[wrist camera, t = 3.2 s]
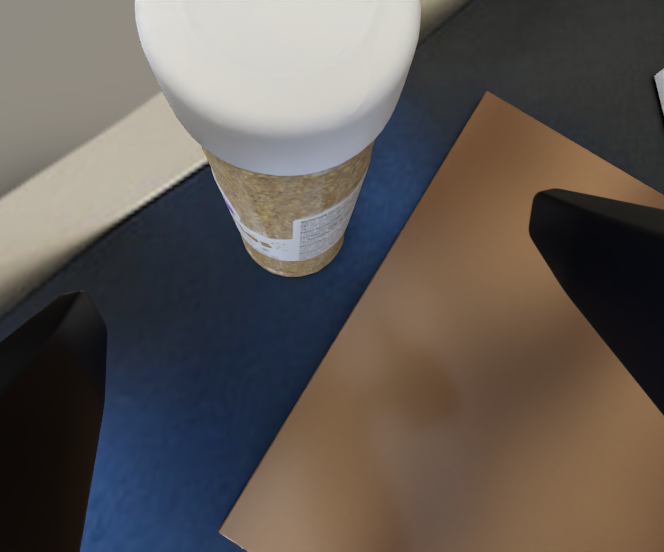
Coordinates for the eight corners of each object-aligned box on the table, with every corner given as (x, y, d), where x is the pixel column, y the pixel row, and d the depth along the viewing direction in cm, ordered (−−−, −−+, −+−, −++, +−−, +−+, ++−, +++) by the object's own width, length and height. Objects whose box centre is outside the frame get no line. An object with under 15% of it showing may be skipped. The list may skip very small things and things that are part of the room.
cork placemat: (781, 273, 21) (793, 271, 21) (578, 760, 17) (585, 771, 17) (482, 95, 22) (487, 90, 21) (219, 527, 18) (217, 532, 17)
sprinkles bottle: (221, 215, 20) (65, -56, 7) (307, 160, 21) (316, -183, 8) (280, 301, 20) (236, 186, 6) (367, 242, 20) (487, 28, 7)
